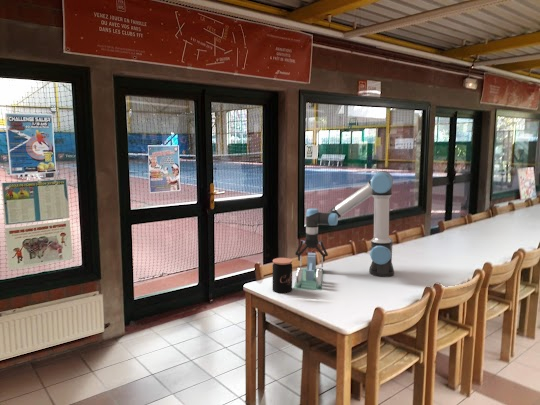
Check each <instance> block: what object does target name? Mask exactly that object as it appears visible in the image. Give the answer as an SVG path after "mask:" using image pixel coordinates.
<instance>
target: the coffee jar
mask: <svg viewBox="0 0 540 405" xmlns="http://www.w3.org/2000/svg"><path fill="white" fill-rule="evenodd" d="M272 262H273V263H272V292H274V293H276V294H289V293H291V292H292V291H293V264H292V263H293V259H292V258H288V257H276V258H273V259H272Z"/></svg>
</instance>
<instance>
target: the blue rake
mask: <svg viewBox="0 0 540 405" xmlns="http://www.w3.org/2000/svg"><path fill="white" fill-rule="evenodd" d="M306 258H307V259H306V266H307V267H306V268H307V270H306V281H314V273H315V269H317V267H316V266H317V265H316V264H317V262H316V260H317V253H316V252H307V257H306Z"/></svg>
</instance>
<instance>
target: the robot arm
mask: <svg viewBox="0 0 540 405" xmlns="http://www.w3.org/2000/svg"><path fill="white" fill-rule="evenodd" d="M393 182H394V178H393V176H392V174H390V173H389V172H388V171H386V170H381V171H378V172H376V173H375V174H374V175H373V176H372V177H371V179H370V180H368V181H367V183H366V184H364V185H363V186H362V187H360V188H359V189H358V190H356V191H355V192H353V193H352V194H350V195H349V196H348V197H347V198H345V199H344V200H342V201H340V202H339V203H338V204H336V205H334V207H332V208H331V209H329V210H327V211H326V212H321V211H319V209H318V208H315V207H314V208H312V207H311V208H307V209H306V214H305V240H303V239H301V240H300V243H299V246H298V248H297V249H296V251H295V256H297V261H299V267H302V254H303V253H304V252H305V251H306V250H307V249H308V248H309V249H316V250H317V251H318V252H319V254H320V255H321V268H323V267H324V262H325V260H326V257H328V255H329V253H328V252H327V249H326V248H325V245H324V241H323V240H321V241H320V240H319V225H320V226H331V227H332V226H337V225H338V223H339V222H338V221H339V219H340V218H341V217H342V216H344V215H345V214H347V213H349V212H350V211H351V210H353V209H354V208H356V207H358V206H359V205H360V204H362V203H363V202H364V201H366V200H367V199H369V198H371V197H372V198H373V238H371V240H370V252H369V256H370V259H371V260H372V261H371V264H370V266H369V270H368V272H369V274H370V275H373V276H376V277H383V278H385V277H387V278H389V277H392V276H394V275H395V269H394V266H393V262H392V260H393V238H391V237H390V236H389V235H390V198H391V196H392V195H393ZM304 244H305V246H304V247H303V248H302V246H303V245H304ZM318 244H319V245H320V247H321V248H322V250H321V248H320V247H319V246H318ZM301 248H302V250H301Z"/></svg>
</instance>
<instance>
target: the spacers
mask: <svg viewBox="0 0 540 405" xmlns="http://www.w3.org/2000/svg"><path fill="white" fill-rule="evenodd" d="M303 268H304V267H302V266H299V267H298V266H297V270H296V272H295V273H296V274H295V282H296V287H297V288H301V285H302V282H303ZM316 269H317V271H316V289H321V283H322V284H323V282H322V269H323V268H322V267H320V268H319V267H318V268H317V267H316Z"/></svg>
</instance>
